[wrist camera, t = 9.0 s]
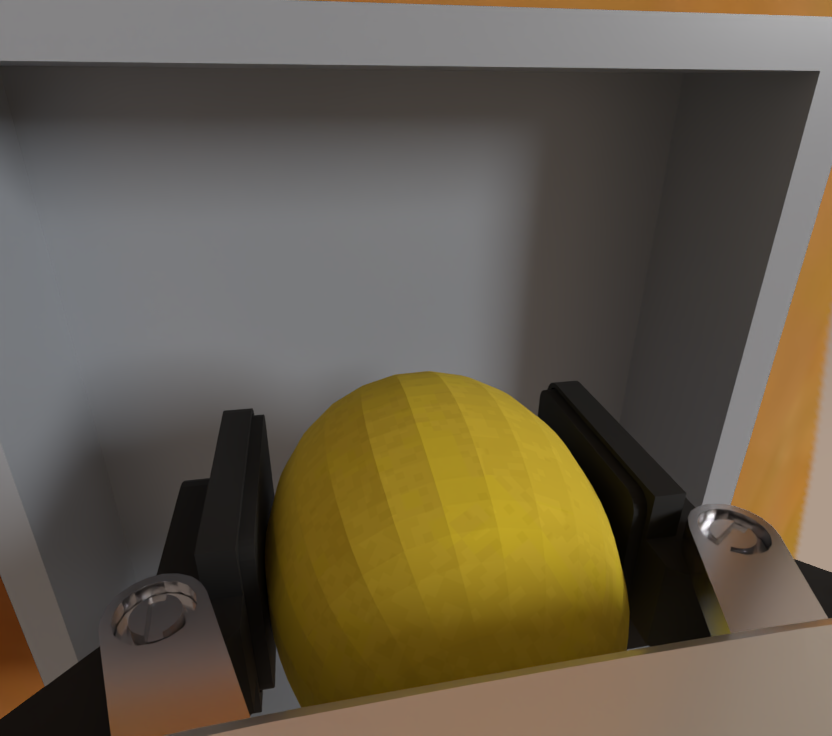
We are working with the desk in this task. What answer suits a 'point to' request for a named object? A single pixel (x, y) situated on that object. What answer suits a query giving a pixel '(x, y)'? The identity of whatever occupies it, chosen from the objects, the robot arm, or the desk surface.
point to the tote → (373, 242)
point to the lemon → (435, 544)
